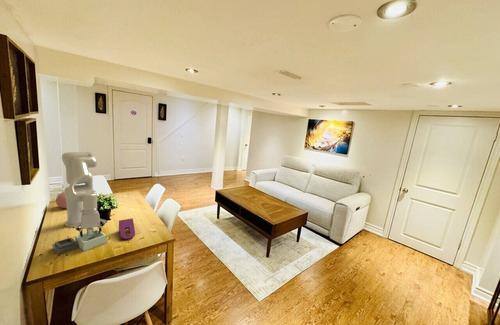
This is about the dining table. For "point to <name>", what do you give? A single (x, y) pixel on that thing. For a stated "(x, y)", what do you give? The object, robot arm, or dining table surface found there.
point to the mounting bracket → (126, 225)
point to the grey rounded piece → (90, 233)
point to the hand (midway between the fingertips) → (91, 234)
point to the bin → (92, 243)
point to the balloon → (61, 200)
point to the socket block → (64, 245)
